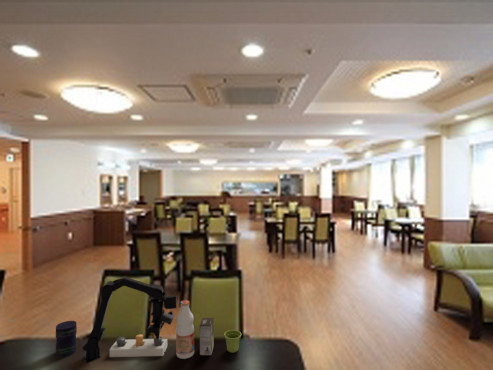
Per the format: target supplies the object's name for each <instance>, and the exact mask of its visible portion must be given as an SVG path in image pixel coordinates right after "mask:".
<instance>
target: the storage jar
mask: <svg viewBox="0 0 493 370" xmlns="http://www.w3.org/2000/svg"><path fill="white" fill-rule="evenodd" d="M77 328H78V327H77V321H75V320H66V321H62V322H60V323H58V324H57V325H55V340H56V342H55V343H56V344H55V356H56V357H58V358H66V357H70V356H72V355H74V354H75V353H76V352H77V350H78V349H77V346H78V341H77V340H78V339H77V332H78V331H77Z"/></svg>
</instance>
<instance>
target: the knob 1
mask: <svg viewBox="0 0 493 370" xmlns="http://www.w3.org/2000/svg"><path fill="white" fill-rule="evenodd" d="M125 340H126V337H125V336H120V337H118V338H116V341H115V342H117V347H123V346H124V345H125V344H124V342H125Z"/></svg>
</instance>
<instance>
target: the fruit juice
mask: <svg viewBox="0 0 493 370" xmlns="http://www.w3.org/2000/svg"><path fill="white" fill-rule="evenodd" d="M179 305H180V308H179V309H180V310H179V312H178V314H177V315H176V320H175V321H176V327H175V334H176V335H175V337H176V338H175V343H176V345H175V348H176V349H175V351H176V352H175V353H176V354H175V355H176V357H177V358H179V359H181V360H182V359H183V360H185V359H190V358H191V357H193V355H194V354H195V326H194V320H195V319H194V318H195V316H194V313H192V311H191V309H190V300H185V299H184V300H181V301H180V303H179Z"/></svg>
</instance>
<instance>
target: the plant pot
mask: <svg viewBox="0 0 493 370" xmlns="http://www.w3.org/2000/svg"><path fill="white" fill-rule="evenodd" d="M241 337H242V333H241V331H239V330H236V329H229V330H227V331H225V332H224V338H225V343H226V351H227V352H229V353H236V352H238V351H239V346H240V341H241Z"/></svg>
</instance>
